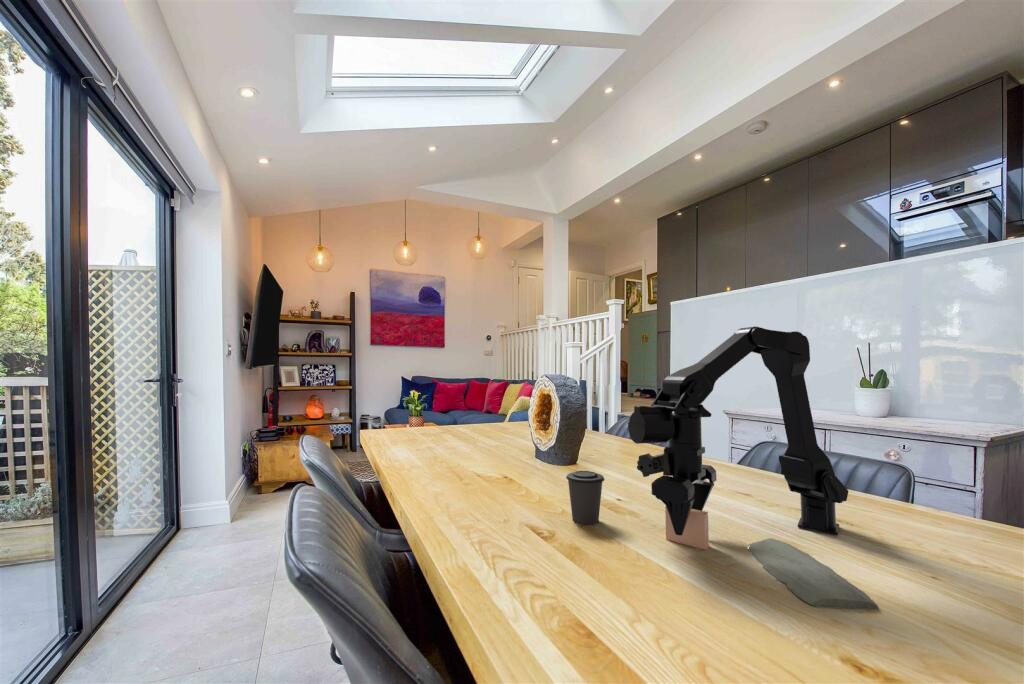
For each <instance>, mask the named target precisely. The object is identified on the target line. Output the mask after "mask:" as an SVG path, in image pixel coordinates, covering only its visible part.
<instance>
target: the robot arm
mask: <svg viewBox="0 0 1024 684" xmlns="http://www.w3.org/2000/svg"><path fill="white" fill-rule="evenodd" d="M810 352H811V350H810V342H809V339H808V337H807V335H804V334H803V333H801V332H800V331H797V330H796V331H781V330H776V329H775V330H773V329H769V328H763V327H759V326H749V327H741V328H739V329H737V330H735V331H734V333H733V335H731V336H729V338H727V339H726V340H725V341H723V342H722V343H720V344H719V345H718V346H717V347H715V349H713V350H712V351H710V352H709V353H708V354H707V355H705V356H704V357H703V358H702V359H700V360H699V361H697V362H696V363H694V364H692V365H689V366H687V367H684V368H681V369H679V370H677V371H675V372H673V373H671V374H669V375H667V376H666V377H665V378H664V380H662V387H661V389H660V391H659V392H658V393H657V395H656V397H655V399H654V400H653V401H652V403H651V404H650V405H649V406H648V405H637V404H635V405H634V406H633V408H634V409H633V413H631V415H630V416H629V421H628V422H627V429H628V430H627V431H628V434H629V437H630V439H631V441H633V443H635V444H637V445H638V444H641V445H642V444H657V443H658V444H660V443H661V444H663V443H667V442H668V445H666V446H664V447H665V448H663V453H660V454H656V455H651V453H649V452H648V453H645V454H642V455H638V460H637V461H636V463H637V466H636V469H637V471H640V472H641V474H642V476H643V478H646V477H647V478H648V477H649V476H651V475H656V474H660V473H662V476H659V477H658V478H656V479H655V480H654V481H653V482H652V483H650V484H651V485H650V486H651V495H652V496H654V497H655V498H656V499H657V500H660V501H661V502H662V503H663V504H664V505H665V507H667V510H668V513H669V516H670V519H671V522H672V525H673V528H674V532H675V534H676V535H680V536H681V535H682V534H683V531H684V529H685V526H686V523H687V520H688V517H689V514H690V511H691V509H695V510H700V511H704V507H705V506H706V503H707V501H708V498H709V497H710V494H711V492H712V490H713V488H714V486H715V482H716V481H717V470H716V469H715V468H714V467H713V466H712V465H709V464H703V454H705V453H706V447H705V446H703V445H702V444H703V442H702V440H703V439H702V418H711V417H712V413H711V412H710V411H709V410H708V409H706V408H705V407H704V405H703V404H702V403H704V402H705V400H706V399H707V398H708V397H709V395H710V394H711V393H712V392H713V391H714V387H715V383H716V382H717V381H718V380H719V379H720V378H721V377H723V375H725V374H726V373H727V372H728V371H730V370H731V369H732V368H734V367H735V366H736V365H737V364H739V362H741V361H742V360H743V359H744V358H745V357H747V356H748V355H749V354H750V353H753V354H754V353H755V354H759V355H760V356H761V359H762V361H763V365H764V367H766V368H767V370H769V372H770V373H771V374H772V376H773V377H774V379H775V384H776V389H777V394H778V399H779V404H780V408H781V415H782V419H783V423H784V429H785V435H786V441H787V448H786V450H785V452H784V454H779V455H778V461H779V464H780V474H781V475H783V477H784V479H785V481H786V482H787V486H788V488H789V491H790V492H793V493H797V494H799V495H800V496H799V497H800V518H799V521H798V523H797V528H799V529H804V530H810V531H815V532H819V533H825V534H830V535H839V531H840V524H839V523H837V517H836V516H837V515H836V504H843V502H847V501H848V495H849V489H848V488H847V487H846V486H845V485H844V484H843V483H842V482H841V480H840V479H839V478H838V477H837V476H836V474H835V471H834V468H833V465H832V462H831V459H830V458H829V457H828V456H827V454H826V453H825V452H824V450H823V449H822V448H821V447H820V446H819V444H818V440H817V435H816V434H817V433H816V430H815V426H814V420H813V415H812V410H811V405H810V400H809V399H810V398H809V395H808V390H807V384H806V380H805V373H806V371H807V368H808V366H809V364H810V361H811V353H810ZM707 480H708V481H707Z"/></svg>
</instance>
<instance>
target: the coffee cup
mask: <svg viewBox="0 0 1024 684" xmlns="http://www.w3.org/2000/svg"><path fill="white" fill-rule="evenodd" d="M565 479H566V480H567V482H568V483H567V484H568V492H569V499H570V509H571V518H572V522H573V521H574V522H575V523H574V522H573V523H574V524H576V523H578V524H577V525H579V524H582V525H581V526H586V525H590V526H595V525H597V524H598V523H599V522H600V521H599V519H600V510H601V501H602V500H601V499H602V490H603V482H605V479H606V478H605V477H604V475H602V474H600V473H598V472H595V471H590V470H575V471H572V472H569V473H567V475H566V477H565ZM596 523H597V524H596ZM594 524H595V525H594Z"/></svg>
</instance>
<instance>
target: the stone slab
mask: <svg viewBox="0 0 1024 684" xmlns="http://www.w3.org/2000/svg"><path fill="white" fill-rule="evenodd" d="M751 543H752V544H751ZM751 543H749V544H750V547H749V546H748V547H749V549H748V550H747V551H748V553H750V554H751V555H752V557H753V558H754V559H755V560H756V561H757V562H758V563H760V564H761V565H762V569H764V571H766V572H767V573H768V574H769V576H772V577H773V578H774V579H775V581H777V582H780V583H783V584H785V586H786V588H787V590H789V591H790V592H791V593H793V594H794V595H795V596H796V597H797V598H799V599H801V600H802V601H803V602H805V603H806V604H808V605H810V606H813V607H816V608H826V609H827V608H829V609H831V608H833V609H838V608H839V609H860V610H863V609H864V610H865V609H866V610H867V609H868V610H879V609H880V608H879V605H878V604H877V603H876V602H875V601H874V600H873V599H871V597H870V596H869V595H868V594H867V593H866V592H864V591H863V590H861V589H859V588H858V587H857V586H856V585H854V584H853V583H851V582H850V581H848V580H847V579H846V578H844V577H843V576H841V575H840V574H838V573H837V572H836V571H835V570H833V568H831V567H830V566H828V565H826V564H823V563H821V562H820V561H819V560H817V559H816V558H814V557H813V556H812V555H810V554H809V553H808V552H807V553H806V552H804V551H803V550H801V549H799V548H798V547H796V546H794V545H792V544H791V543H787V542H785V541H783V540H779V539H776V538H772V537H770V538H766V539H762V540H759V541H756V542H755V541H754V542H751Z"/></svg>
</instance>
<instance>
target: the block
mask: <svg viewBox="0 0 1024 684" xmlns="http://www.w3.org/2000/svg"><path fill="white" fill-rule="evenodd" d="M664 512H665V513H664V514H665V540H666V539H667V540H666V541H670V540H671V541H670V542H674V541H675V542H674V543H678V542H679V543H678V544H682V545H685V544H686V546H689V545H690V547H693V546H694V548H698V549H701V550H707V549H708V548H709V546H710V539H709V538H710V536H709V511H705V510H702V511H700V510H695V509H691V511H690V514H689V517H688V520H687V523H686V526H685V529H684V531H683V534H682V535H681V536H680V535H676V534H675V532H674V528H673V525H672V522H671V519H670V516H669V513H668V510H667V507H666V506H665V511H664Z"/></svg>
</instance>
